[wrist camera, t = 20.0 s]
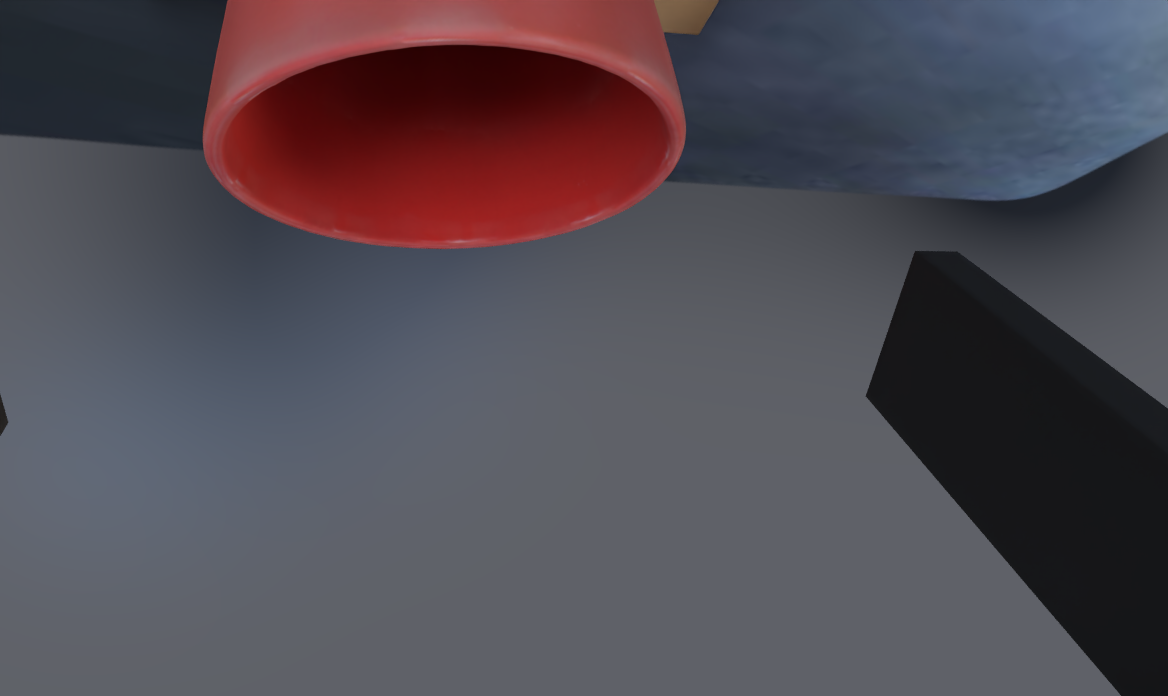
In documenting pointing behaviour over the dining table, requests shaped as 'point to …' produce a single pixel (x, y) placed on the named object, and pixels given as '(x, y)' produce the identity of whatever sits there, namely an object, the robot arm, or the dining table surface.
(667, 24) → the wooden trivet
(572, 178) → the flower pot
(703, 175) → the dining table surface
